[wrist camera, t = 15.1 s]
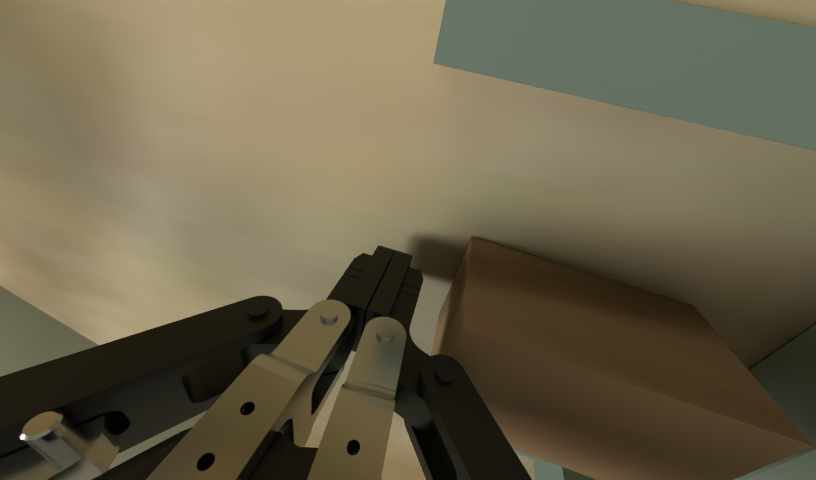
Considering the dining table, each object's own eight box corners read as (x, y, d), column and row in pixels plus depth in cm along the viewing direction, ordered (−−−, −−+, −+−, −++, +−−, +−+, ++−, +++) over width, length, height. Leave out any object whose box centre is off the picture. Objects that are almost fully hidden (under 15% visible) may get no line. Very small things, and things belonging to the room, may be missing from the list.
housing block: (471, 236, 12) (463, 327, 8) (693, 305, 11) (813, 446, 7) (438, 316, 15) (419, 414, 11) (615, 375, 14) (669, 506, 10)
